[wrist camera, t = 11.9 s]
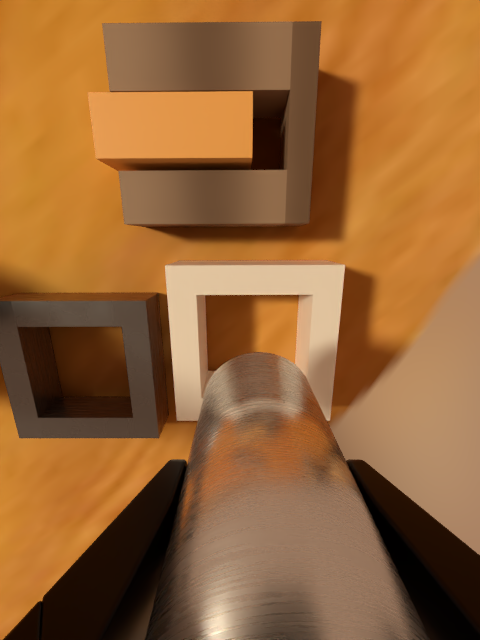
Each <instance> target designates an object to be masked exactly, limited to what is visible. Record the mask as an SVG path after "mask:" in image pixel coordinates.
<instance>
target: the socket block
mask: <svg viewBox="0 0 480 640" xmlns="http://www.w3.org/2000/svg"><path fill="white" fill-rule="evenodd" d="M49 327H122V333H123V341H124V349H125V357H126V365H127V373H128V381H129V389H130V397H62V392H61V387H60V382H59V377H58V372H57V367H56V362H55V357H54V352H53V347H52V342H51V337H50V332H49ZM0 365H1V368H2V372H3V376H4V380H5V384H6V388H7V392H8V396H9V399H10V403H11V407H12V411H13V415H14V419H15V423H16V426H17V430H18V434H19V438H159V437H160V434H161V432H162V430H163V427H164V425H165V422H166V420H167V418H168V415H169V413H168V401H167V389H166V377H165V366H164V354H163V342H162V330H161V318H160V306H159V295H158V293H16V294H12V295H8V296H4V297H0Z"/></svg>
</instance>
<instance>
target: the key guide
mask: <svg viewBox="0 0 480 640" xmlns="http://www.w3.org/2000/svg"><path fill="white" fill-rule="evenodd" d="M102 26H103V35H104V44H105V53H106V62H107V71H108V80H109V89H110V92H218V91H253V118H281V132H280V165H279V170H174V171H119V179H120V188H121V197H122V206H123V215H124V224H127V225H134V226H142V227H227V226H300V225H304V224H308V223H309V219H310V203H311V186H312V169H313V153H314V136H315V119H316V103H317V86H318V69H319V53H320V36H321V21H314V22H202V23H102Z"/></svg>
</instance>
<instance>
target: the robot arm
mask: <svg viewBox="0 0 480 640" xmlns="http://www.w3.org/2000/svg"><path fill="white" fill-rule="evenodd" d="M346 463H347V465H348V467H349V469H350V471H351V473H352V475H353V477H354V479H355V482H356V484H357V486H358V488H359V490H360V492H361V494H362V496H363V499H364V501H365V503H366V505H367V507H368V509H369V511H370V513H371V515H372V518H373V520H374V522H375V524H376V526H377V528H378V530H379V532H380V535H381V537H382V539H383V541H384V543H385V545H386V547H387V549H388V551H389V554H390V556H391V558H392V560H393V562H394V564H395V566H396V568H397V571H398V573H399V575H400V577H401V579H402V581H403V583H404V585H405V587H406V590H407V592H408V594H409V596H410V598H411V600H412V602H413V604H414V606H415V609H416V611H417V613H418V615H419V617H420V619H421V621H422V623H423V626H424V628H425V630H426V632H427V634H428V636H429V638H430V640H480V555H479V554H477V553H476V552H475V551H474V550H472V549H471V548H470V547H469V546H468V545H466V544H465V543H464V542H462V541H461V540H460V539H459V538H458V537H456V536H455V535H454V534H453V533H452V532H450V531H449V530H448V529H447V528H445V527H444V526H443V525H442V524H441V523H439V522H438V521H437V520H436V519H434V518H433V517H432V516H431V515H430V514H428V513H427V512H426V511H425V510H423V509H422V508H421V507H419V505H417V504H416V503H415V502H414V501H412V500H411V499H410V498H409V497H408V496H406V495H405V494H404V493H402V492H401V491H400V490H399V489H398V488H396V487H395V486H394V485H393V484H392V483H390V482H389V481H388V480H387V479H385V478H384V477H383V476H382V475H381V474H379V473H378V472H377V471H376V470H375V469H373V468H372V467H371V466H370V465H368V464H367V463H366V462H365V461H363V460H347V461H346ZM186 468H187V462H186V461H185V460H170V461H168V462H167V464H166V465H165V466H164V467H163V468H162V469H161V470H160V471H159V472H158V473H157V474H156V475H155V476H154V478H153V479H152V480H151V481H150V482H149V483H148V484H147V485H146V486H145V487H144V488H143V489H142V491H141V492H140V493H139V494H138V495H137V496H136V497H135V498H134V499H133V500H132V501H131V502H130V503H129V505H128V506H127V507H126V508H125V509H124V510H123V511H122V512H121V513H120V514H119V515H118V516H117V518H116V519H115V520H114V521H113V522H112V523H111V524H110V525H109V526H108V527H107V528H106V529H105V530H104V532H103V533H102V534H101V535H100V536H99V537H98V538H97V539H96V540H95V541H94V542H93V543H92V545H91V546H90V547H89V548H88V549H87V550H86V551H85V552H84V553H83V554H82V555H81V556H80V557H79V559H78V560H77V561H76V562H75V563H74V564H73V565H72V566H71V567H70V568H69V569H68V570H67V572H66V573H65V574H64V575H63V576H62V577H61V578H60V579H59V580H58V581H57V582H56V583H55V584H54V586H53V587H52V588H51V589H50V590H49V591H48V592H47V593H46V594H45V595H44V597H43V601H39V602H38V603H37V604H36V605H35V606H34V607H33V608H32V609H31V610H30V611H29V612H28V613H27V614H26V616H25V617H24V618H23V619H22V620H21V621H20V622H19V623H18V624H17V625H16V626H15V627H14V628H13V629H12V631H11V632H10V633H9V634H8V635H7V636H6V637H5V638H4V639H3V640H145V637H146V633H147V629H148V625H149V621H150V616H151V612H152V608H153V604H154V600H155V596H156V592H157V588H158V583H159V579H160V575H161V571H162V567H163V563H164V559H165V554H166V550H167V546H168V542H169V538H170V534H171V530H172V526H173V521H174V517H175V513H176V509H177V505H178V501H179V497H180V493H181V488H182V484H183V480H184V476H185V472H186Z"/></svg>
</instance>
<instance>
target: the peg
mask: <svg viewBox="0 0 480 640" xmlns="http://www.w3.org/2000/svg"><path fill="white" fill-rule="evenodd" d="M145 640H430V638H429V636H428V634H427V632H426V630H425V628H424V626H423V623H422V621H421V619H420V617H419V615H418V613H417V611H416V609H415V606H414V604H413V602H412V600H411V598H410V596H409V594H408V592H407V590H406V587H405V585H404V583H403V581H402V579H401V577H400V575H399V573H398V571H397V568H396V566H395V564H394V562H393V560H392V558H391V556H390V554H389V551H388V549H387V547H386V545H385V543H384V541H383V539H382V537H381V535H380V532H379V530H378V528H377V526H376V524H375V522H374V520H373V518H372V515H371V513H370V511H369V509H368V507H367V505H366V503H365V501H364V499H363V496H362V494H361V492H360V490H359V488H358V486H357V484H356V482H355V479H354V477H353V475H352V473H351V471H350V469H349V467H348V465H347V463H346V461H345V458H344V456H343V454H342V452H341V450H340V448H339V446H338V444H337V441H336V439H335V437H334V435H333V433H332V431H331V429H330V427H329V424H328V422H327V420H326V418H325V416H324V414H323V412H322V410H321V408H320V405H319V403H318V401H317V399H316V397H315V395H314V393H313V391H312V388H311V386H310V384H309V382H308V380H307V378H306V376H305V375H304V374H303V372H302V371H301V370H300V369H299V368H298V367H297V366H296V365H295V364H294V363H292V362H291V361H289V360H287V359H285V358H283V357H281V356H278V355H275V354H271V353H263V352H254V353H247V354H243V355H239V356H237V357H234V358H232V359H230V360H228V361H227V362H225V363H224V364H223V365H221V366H220V367H219V368H218V369H217V370H216V371H215V372H214V374H213V375H212V376H211V378H210V380H209V382H208V384H207V386H206V389H205V393H204V397H203V402H202V406H201V410H200V414H199V418H198V422H197V426H196V431H195V435H194V439H193V443H192V447H191V451H190V455H189V459H188V464H187V468H186V472H185V476H184V480H183V484H182V488H181V493H180V497H179V501H178V505H177V509H176V513H175V517H174V521H173V526H172V530H171V534H170V538H169V542H168V546H167V550H166V554H165V559H164V563H163V567H162V571H161V575H160V579H159V583H158V588H157V592H156V596H155V600H154V604H153V608H152V612H151V616H150V621H149V625H148V629H147V633H146V637H145Z"/></svg>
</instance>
